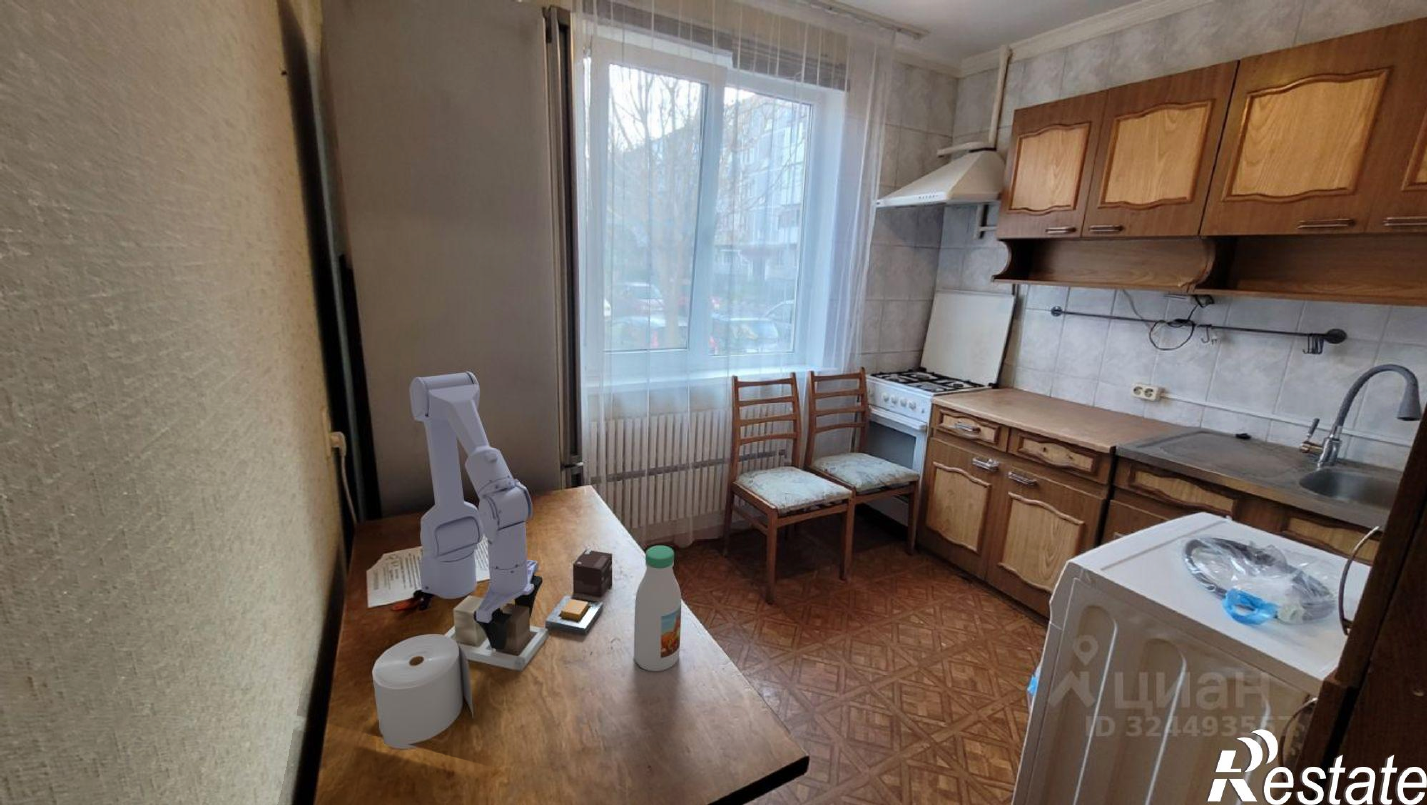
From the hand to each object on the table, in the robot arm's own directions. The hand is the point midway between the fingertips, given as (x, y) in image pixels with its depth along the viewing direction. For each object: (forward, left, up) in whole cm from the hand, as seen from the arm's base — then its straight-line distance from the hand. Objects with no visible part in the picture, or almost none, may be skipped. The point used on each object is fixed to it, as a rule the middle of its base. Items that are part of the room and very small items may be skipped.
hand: (511, 632), depth 91 cm
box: (+5, +20, -4) cm, 21 cm away
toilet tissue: (-4, -15, -4) cm, 16 cm away
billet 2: (0, 0, -3) cm, 3 cm away
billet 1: (-7, 0, -3) cm, 8 cm away
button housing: (+6, +10, -4) cm, 13 cm away
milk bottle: (+23, +6, -4) cm, 25 cm away
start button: (+6, +10, -4) cm, 12 cm away
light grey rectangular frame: (-4, 0, -4) cm, 5 cm away
